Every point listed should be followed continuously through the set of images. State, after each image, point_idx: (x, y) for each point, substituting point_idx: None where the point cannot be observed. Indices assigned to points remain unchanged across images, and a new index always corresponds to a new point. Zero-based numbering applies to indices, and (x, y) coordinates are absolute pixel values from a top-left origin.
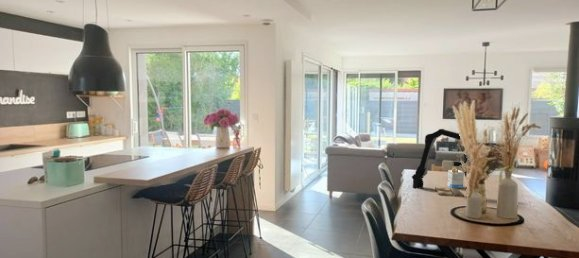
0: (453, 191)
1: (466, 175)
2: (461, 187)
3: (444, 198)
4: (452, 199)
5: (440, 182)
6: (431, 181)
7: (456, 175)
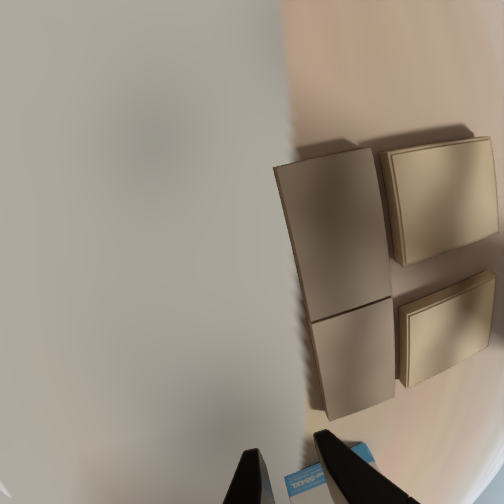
0: (382, 290)
1: (322, 457)
2: (297, 475)
3: (424, 28)
4: (363, 10)
5: None
6: (437, 482)
7: None
